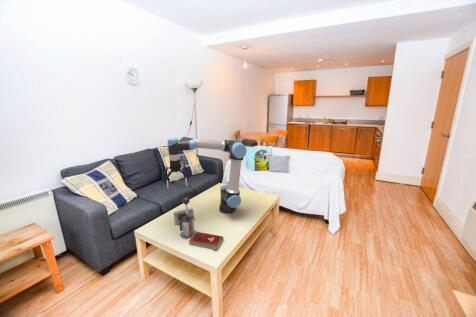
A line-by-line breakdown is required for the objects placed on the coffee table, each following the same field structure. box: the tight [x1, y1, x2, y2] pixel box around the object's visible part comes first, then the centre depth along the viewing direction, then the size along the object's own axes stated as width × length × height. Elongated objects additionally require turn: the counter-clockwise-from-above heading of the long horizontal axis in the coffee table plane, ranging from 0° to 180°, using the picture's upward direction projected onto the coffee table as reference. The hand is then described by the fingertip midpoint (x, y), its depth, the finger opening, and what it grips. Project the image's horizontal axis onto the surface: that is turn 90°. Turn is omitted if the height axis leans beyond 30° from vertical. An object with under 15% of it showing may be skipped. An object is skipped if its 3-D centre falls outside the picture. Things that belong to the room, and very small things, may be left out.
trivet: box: [180, 229, 197, 240], centre depth 162 cm, size 12×12×1 cm
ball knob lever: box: [182, 196, 190, 219], centre depth 157 cm, size 5×5×19 cm
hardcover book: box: [188, 231, 224, 251], centre depth 153 cm, size 12×21×4 cm, turn 73°
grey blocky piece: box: [179, 215, 195, 237], centre depth 161 cm, size 10×8×13 cm
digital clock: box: [173, 207, 196, 226], centre depth 178 cm, size 16×9×11 cm, turn 103°
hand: (177, 186), depth 164 cm, fingers open, 13 cm apart
